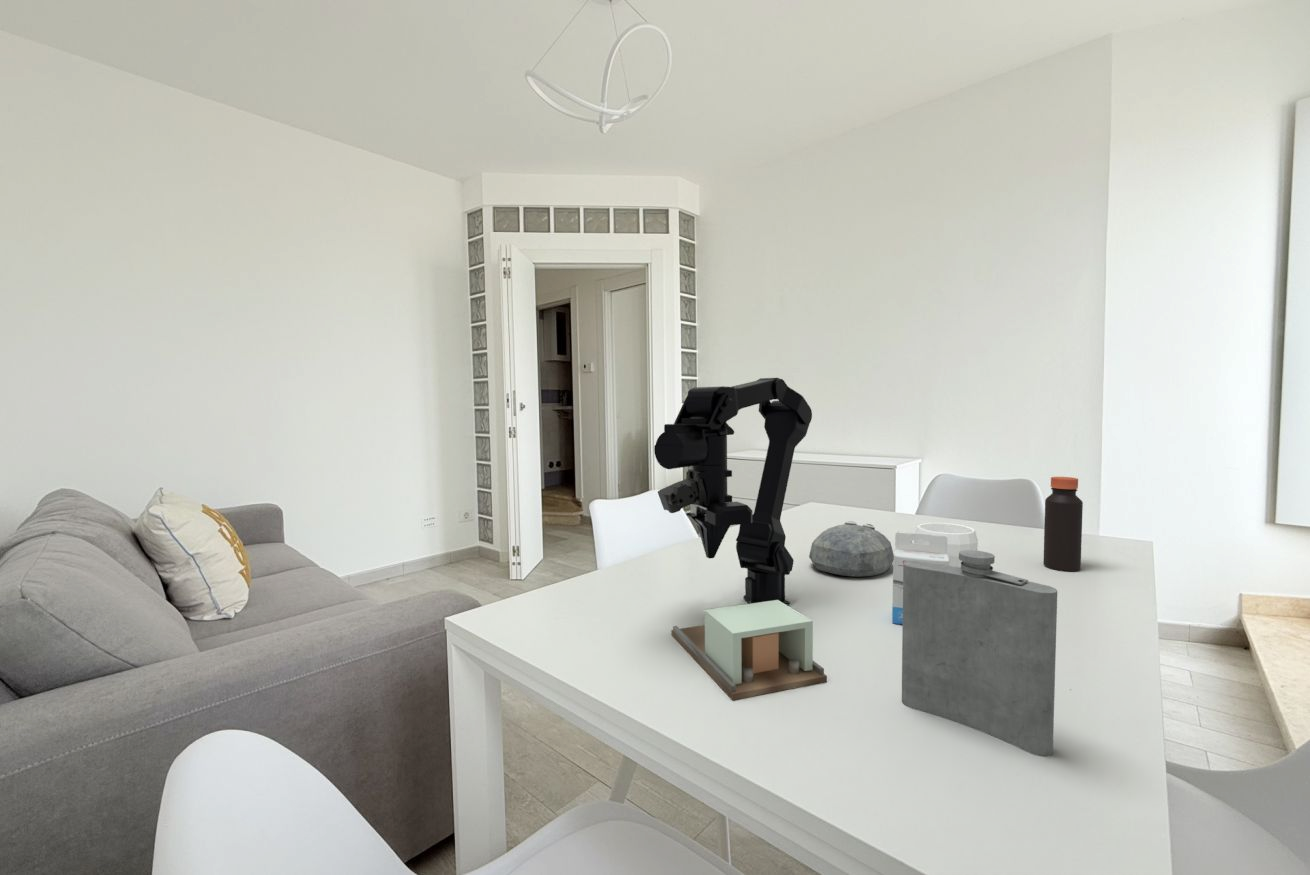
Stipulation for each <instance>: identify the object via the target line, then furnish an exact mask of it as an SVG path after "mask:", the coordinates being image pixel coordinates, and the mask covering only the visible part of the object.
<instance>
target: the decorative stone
mask: <svg viewBox="0 0 1310 875" xmlns="http://www.w3.org/2000/svg"><path fill="white" fill-rule="evenodd" d="M875 528H876V527H875V526H874V525H872V524H871V523H870V524H869V523H865V524H863V525H860V524H858V523H856V522H855V521H852V520H848V521H845V522H844V523H843V524H839V525H838V524H837V525H835V526H832V527H828V528H827V529H826V530H823V531H822V532H820V534H819V535H818V536H817V537H816V538H815V539H814V540H813V541H812V543H811V546H810V549H809V550H810V551H809V555H808V558H809V559H810V560H811V562H812V563H813V565H814V566H815V568H816V569H817V570H818V571H821V572H826V573H829V574H834V575H839V576H843V577H844V576H845V577H857V578H858V577H872V576H877V575H881V574H883V573H886V572H888V570H889V569H890V567H891V566H892V564H893V562H894V550H893V546H892V542H891V541H890V540H889V539H888V538H887V537H886V535H884V534H883V533H881V531H879V530H876V529H875Z"/></svg>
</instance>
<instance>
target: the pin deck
mask: <svg viewBox="0 0 1310 875" xmlns="http://www.w3.org/2000/svg"><path fill="white" fill-rule="evenodd" d="M670 630H671V631H670V632H671V636H672V637H673V638H674V639H675V640H676V641H677V642H678V644H679V645H680V646H681V647H682V648H683V649H684V650H685V651H686V652H687V653H688V654H689V655H690V656H691V658H692V659H694V661H695V662H696V663H697V664H698V665H699V666H700V668H702V669H703V670H704V672H705V673H706V674H707V675H708V676H709V677H710V678H711V679H712V680H713V681H714V682H715V683H716V684H717V686H718V687H720V689H722V690H723V692H724V693H725V694H726V695H727V696H728V697H729V698H730V699H731V700H732V701H735V700H736V701H737V700H741V699H747V698H751V697H756V696H757V697H758V696H762V695H767V694H771V693H777V692H782V691H786V690H790V689H792V690H793V689H796V688H801V687H807V686H811V685H817V684H822V683H827V682H828V680H827V679H828V676H827V675H826V674H825V668H824V667H823V666H821V665H820V664H818V663H817V662H816V661H814V660H813V670H809V671H804V670H803V669H802V668H800V667H799V661H798V660H797V659H788V658H787V657H786V656H785V655H783V654H782V653H781V652H779V669H774V670H769V671H764V672H759V673H753V669H752V668H750V667H745V666H744V665H743V664H742V663H741V666H742V683H740V684H734V683H733V682H732V681H731V680H730V679H729V678H728V677H727V676H726V675H725V674H724V673H723V672H722V671H721V670H720V669H719V668H718V667H717V666H716V665H715V664H714V663H713V662H712V661H711V660H710V659H709V658H708V657H707V656H706V655H705V624H702V625H701V624H700V625H695V626H689V627H688V626H687V627H681V628H680V627H679V626H678V625H672V629H670Z"/></svg>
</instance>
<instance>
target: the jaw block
mask: <svg viewBox="0 0 1310 875" xmlns="http://www.w3.org/2000/svg"><path fill="white" fill-rule="evenodd" d="M741 663H742V664H743V665H744V666H745V667H750V668H752V669H753V673H759V672H764V671H769V670H774V669H779V633H771V634H764V635H758V636H752V637H746V638H741Z"/></svg>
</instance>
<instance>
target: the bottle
mask: <svg viewBox="0 0 1310 875" xmlns="http://www.w3.org/2000/svg"><path fill="white" fill-rule="evenodd" d="M1078 489H1079V478H1077V477H1071V476H1052V477H1050V490H1051V491H1052V492H1051V493H1050V495H1048V496H1047V497H1046V498H1045V500H1044V530H1043V531H1044V532H1043V533H1044V536H1043V561H1042V562H1043V566H1044V567H1045V568H1048V567H1049V568H1048V569H1051V568H1052V569H1051V570H1055V569H1056V570H1055V571H1060V570H1063V571H1062V572H1078V571H1080V570H1081V568H1082V536H1083V534H1082V533H1083V511H1084V510H1083V508H1084V506H1083V505H1084V502H1083V501H1082V499H1081V498H1079V496H1078V495H1077V492H1078Z"/></svg>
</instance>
